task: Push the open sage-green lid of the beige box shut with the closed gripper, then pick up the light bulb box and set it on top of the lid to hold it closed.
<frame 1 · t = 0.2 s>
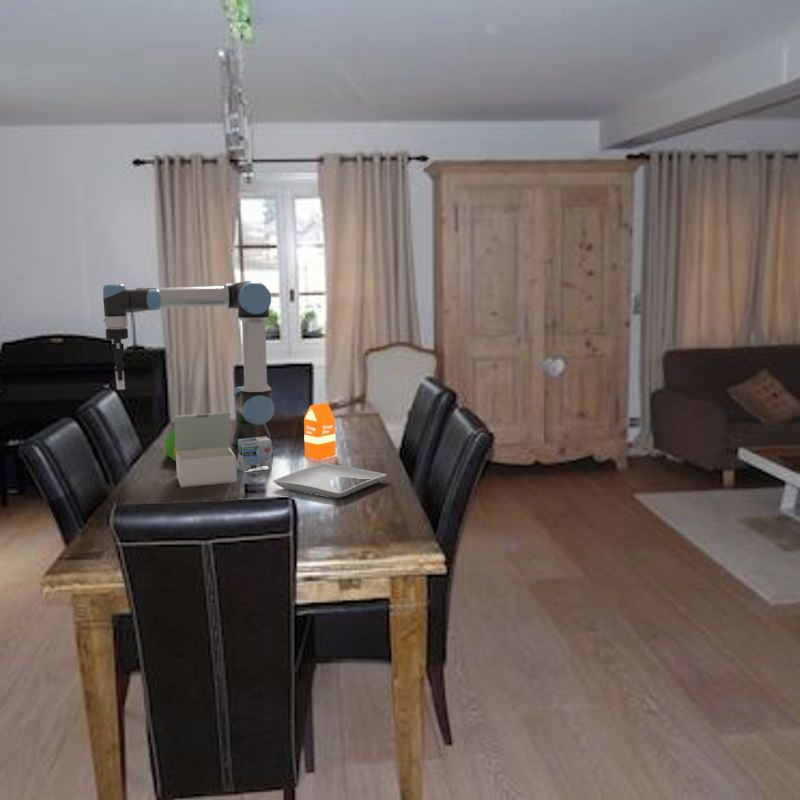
hand: (120, 386, 293), 28 cm above the table, tool pointing down, fingers open, 13 cm apart
square plate: (330, 487, 264), on the table
orange juice: (320, 457, 304), on the table
box lid: (202, 431, 274), point 16 cm above the table, hinge at 65.0°
light bulb box: (255, 469, 286), on the table
beige box: (206, 479, 273), on the table
decorative tree: (183, 456, 305), on the table
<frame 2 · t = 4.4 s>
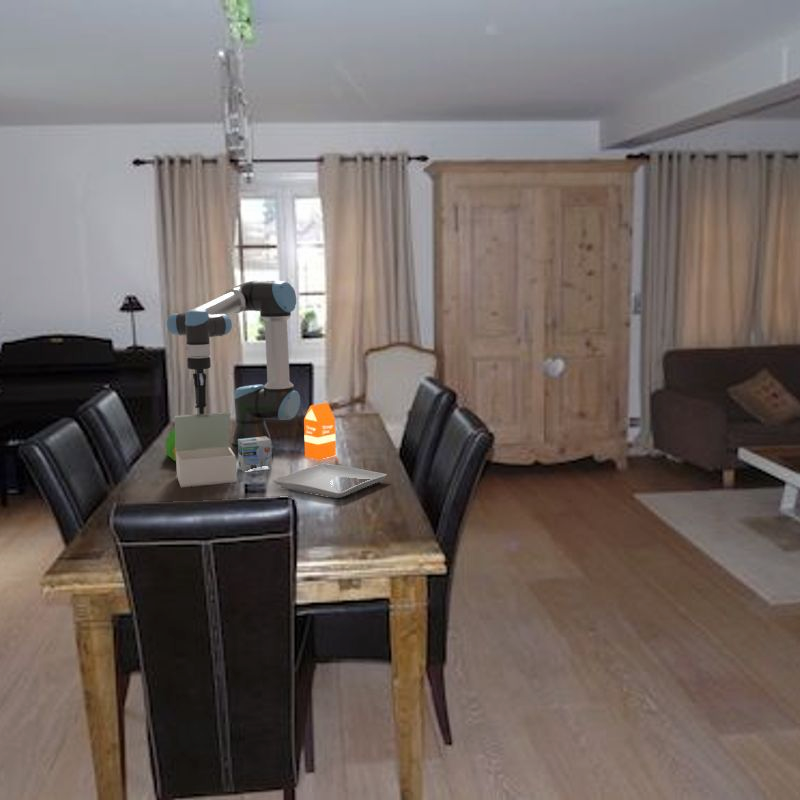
hand: (201, 425, 274), 18 cm above the table, tool pointing down, fingers closed
box lid: (202, 431, 274), point 16 cm above the table, hinge at 64.6°, touching gripper
everything else where it was.
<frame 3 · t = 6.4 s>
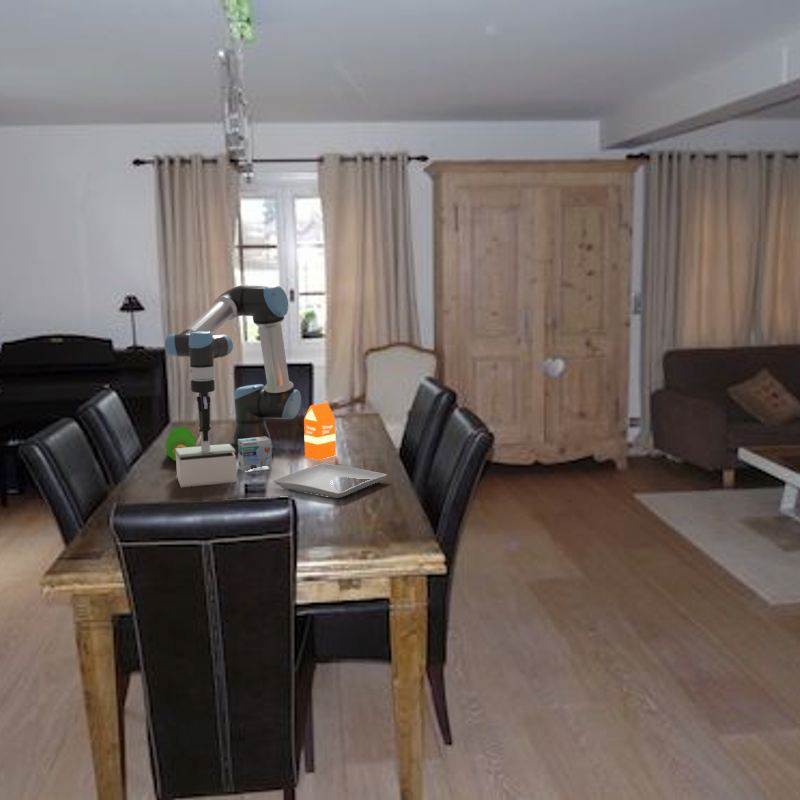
hand: (205, 449, 268), 11 cm above the table, tool pointing down, fingers closed
box lid: (205, 450, 271), point 10 cm above the table, hinge at 4.0°, touching gripper
everything else where it was.
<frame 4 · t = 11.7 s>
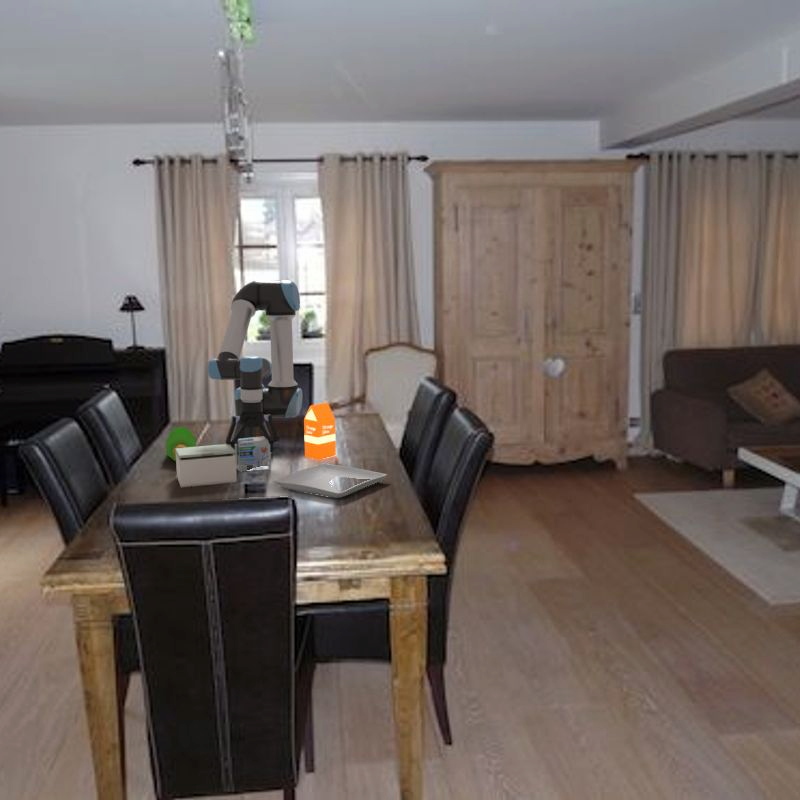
hand: (252, 462, 285), 2 cm above the table, tool pointing down, fingers open, 11 cm apart
box lid: (205, 450, 271), point 10 cm above the table, hinge at 2.8°, touching hand
light bulb box: (252, 469, 286), on the table, touching gripper
everything else where it was.
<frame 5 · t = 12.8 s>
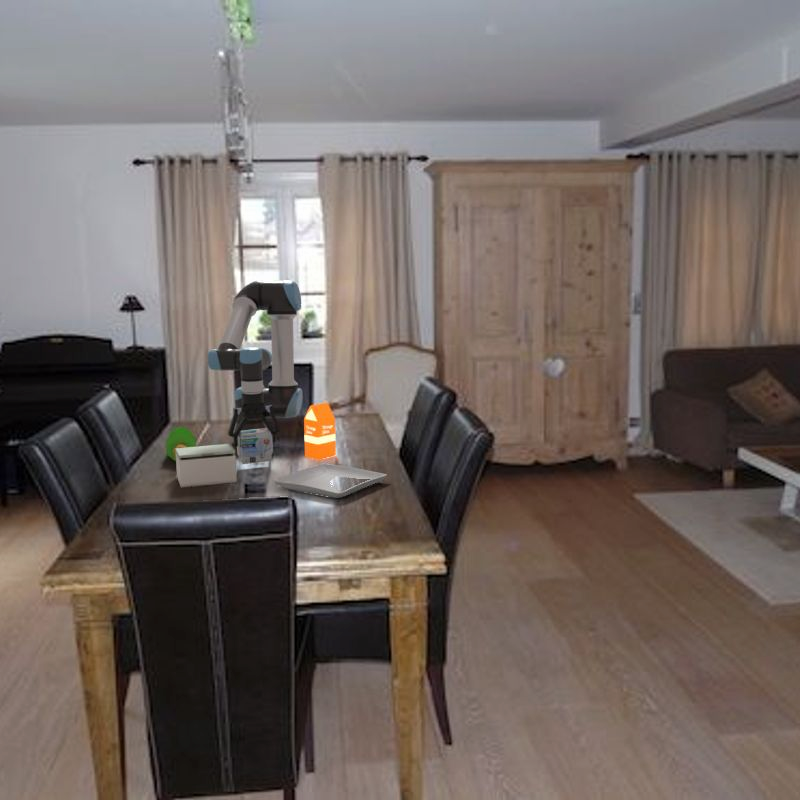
hand: (255, 453, 286), 5 cm above the table, tool pointing down, fingers closed on light bulb box, 11 cm apart
box lid: (205, 450, 271), point 10 cm above the table, hinge at 2.8°
light bulb box: (255, 461, 287), point 3 cm above the table, touching gripper
everything else where it was.
when the fingers open (13 cm above the table, at t = 18.3 s): light bulb box stays where it is, resting on box lid.
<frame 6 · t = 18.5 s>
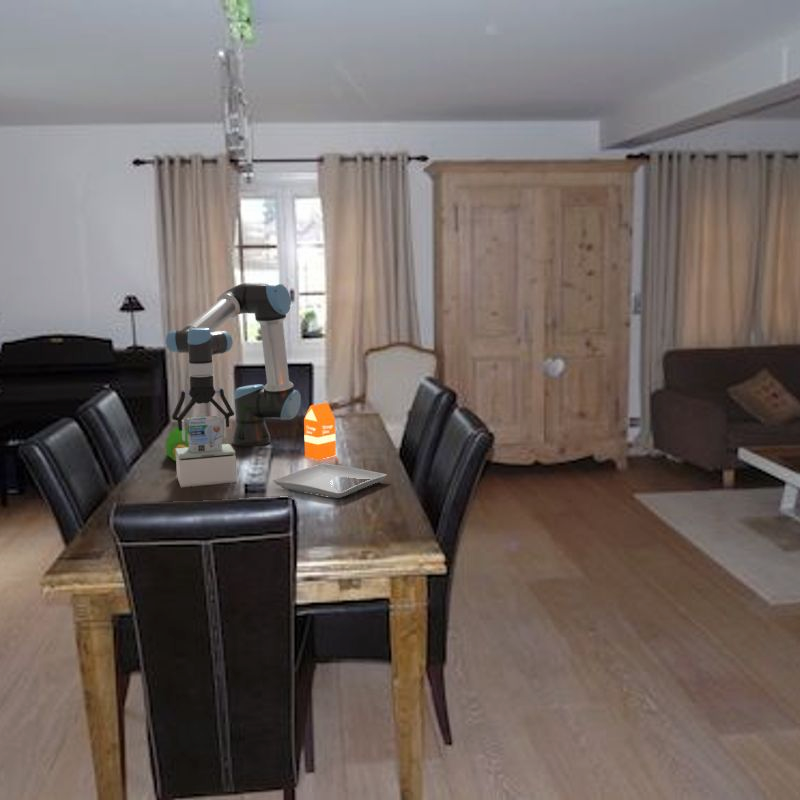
hand: (204, 438, 270), 14 cm above the table, tool pointing down, fingers open, 13 cm apart
box lid: (205, 451, 271), point 10 cm above the table, hinge at 1.7°, touching light bulb box
light bulb box: (205, 450, 271), point 10 cm above the table, touching box lid
everything else where it was.
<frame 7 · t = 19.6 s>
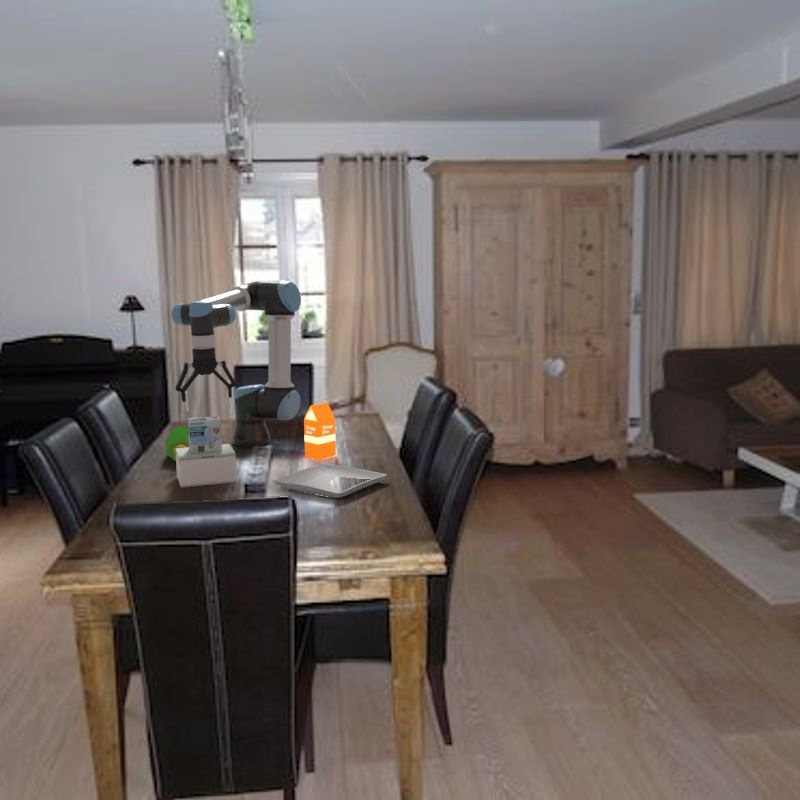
hand: (207, 408, 277), 23 cm above the table, tool pointing down, fingers open, 13 cm apart
box lid: (205, 451, 271), point 10 cm above the table, hinge at -0.1°, touching light bulb box
everything else where it was.
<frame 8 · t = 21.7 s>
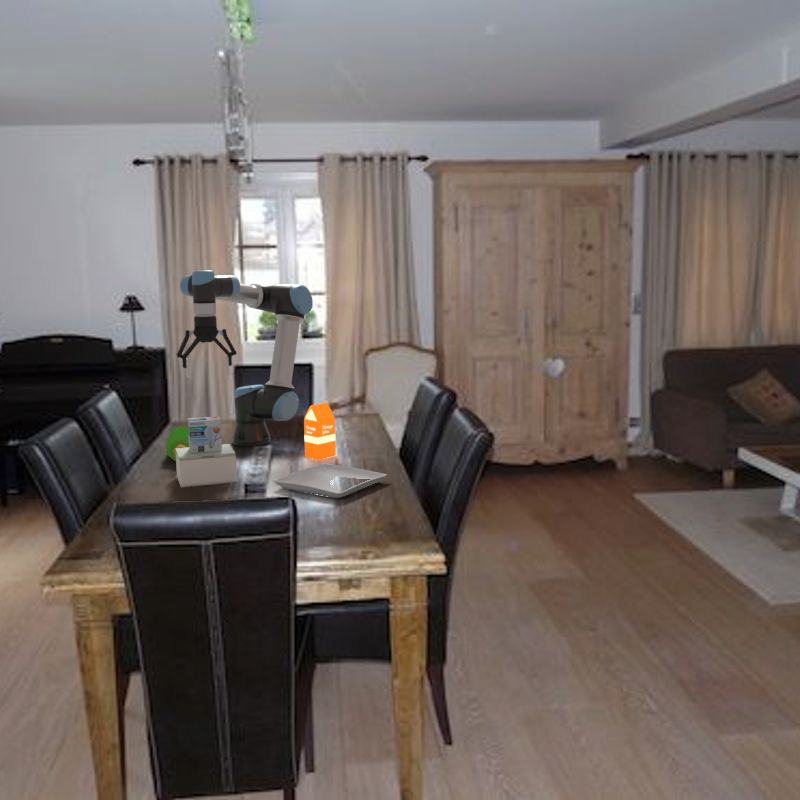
hand: (207, 376, 283), 33 cm above the table, tool pointing down, fingers open, 13 cm apart
nothing on the table moved.
at the end: box lid at +0° (first picture: +65°); light bulb box inside the target area (0.6 cm from its centre), point 9.8 cm above the table; light bulb box tilted 0° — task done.
